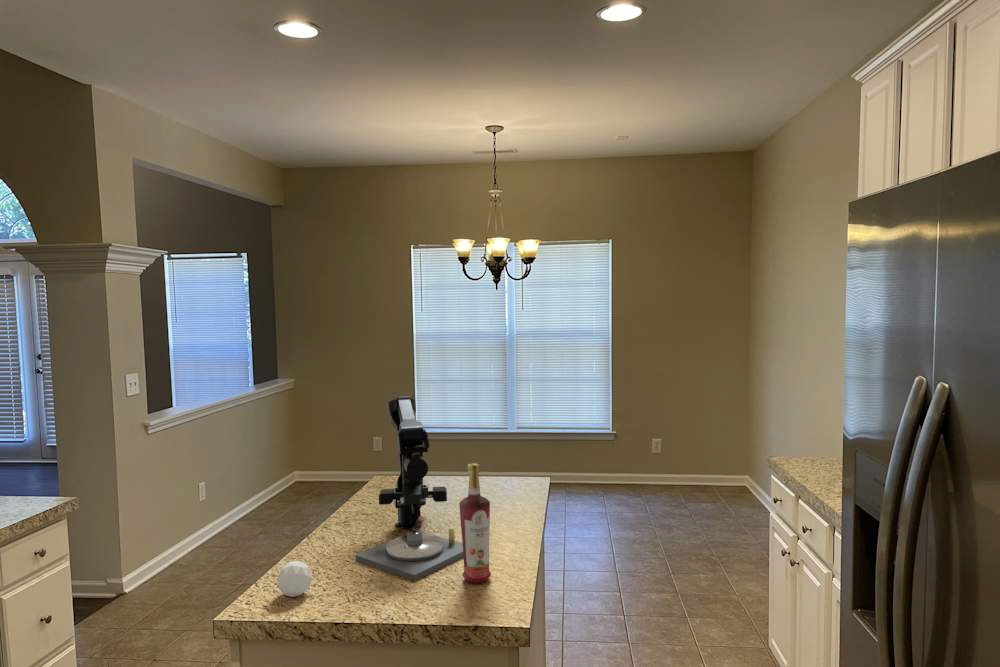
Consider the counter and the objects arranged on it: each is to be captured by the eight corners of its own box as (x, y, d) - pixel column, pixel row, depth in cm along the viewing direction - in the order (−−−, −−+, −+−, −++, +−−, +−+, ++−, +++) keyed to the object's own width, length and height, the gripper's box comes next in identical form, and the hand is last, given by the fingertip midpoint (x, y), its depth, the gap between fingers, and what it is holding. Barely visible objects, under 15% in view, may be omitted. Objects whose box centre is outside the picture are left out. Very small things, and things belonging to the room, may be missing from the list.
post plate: (355, 560, 169) (354, 540, 169) (416, 535, 186) (415, 516, 186) (414, 581, 155) (414, 558, 155) (474, 551, 173) (473, 531, 172)
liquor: (468, 589, 150) (464, 470, 149) (457, 577, 157) (453, 463, 156) (496, 582, 153) (493, 466, 152) (485, 571, 160) (481, 459, 158)
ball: (304, 605, 150) (319, 582, 148) (271, 602, 146) (285, 578, 143) (302, 578, 156) (316, 556, 154) (270, 575, 152) (284, 551, 149)
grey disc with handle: (439, 560, 163) (438, 543, 163) (380, 561, 164) (380, 543, 163) (449, 532, 183) (449, 516, 183) (397, 532, 184) (396, 516, 184)
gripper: (376, 479, 172) (377, 537, 172) (446, 476, 174) (447, 533, 174) (379, 469, 183) (381, 523, 183) (445, 466, 185) (446, 520, 185)
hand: (413, 525), depth 181 cm, fingers closed
